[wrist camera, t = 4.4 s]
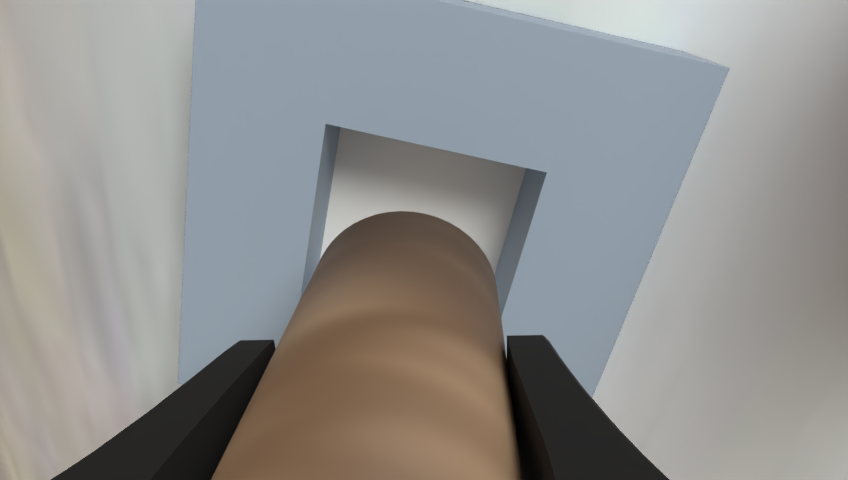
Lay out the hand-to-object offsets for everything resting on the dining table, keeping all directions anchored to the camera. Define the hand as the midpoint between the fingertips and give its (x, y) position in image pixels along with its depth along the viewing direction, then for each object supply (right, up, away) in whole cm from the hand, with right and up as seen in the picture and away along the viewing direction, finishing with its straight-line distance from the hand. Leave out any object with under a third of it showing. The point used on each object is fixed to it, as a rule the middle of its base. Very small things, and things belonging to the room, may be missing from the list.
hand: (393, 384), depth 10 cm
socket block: (0, +4, +8) cm, 9 cm away
